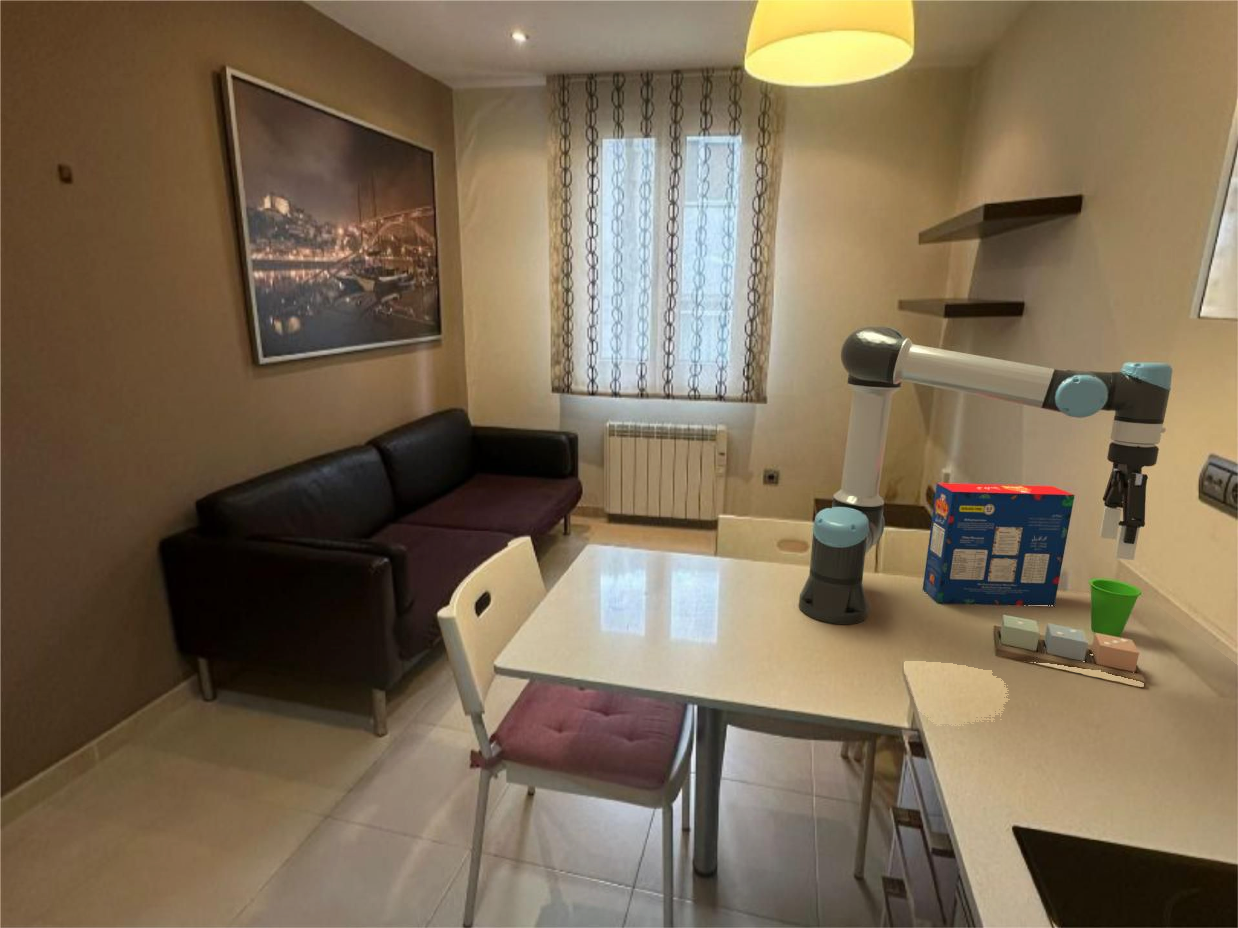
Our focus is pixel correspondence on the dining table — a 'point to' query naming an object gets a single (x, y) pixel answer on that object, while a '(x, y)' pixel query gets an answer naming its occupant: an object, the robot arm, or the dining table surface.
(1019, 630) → the pale green block
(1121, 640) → the peach block
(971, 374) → the robot arm
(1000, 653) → the board
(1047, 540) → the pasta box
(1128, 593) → the cup
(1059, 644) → the grey block
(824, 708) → the dining table surface
